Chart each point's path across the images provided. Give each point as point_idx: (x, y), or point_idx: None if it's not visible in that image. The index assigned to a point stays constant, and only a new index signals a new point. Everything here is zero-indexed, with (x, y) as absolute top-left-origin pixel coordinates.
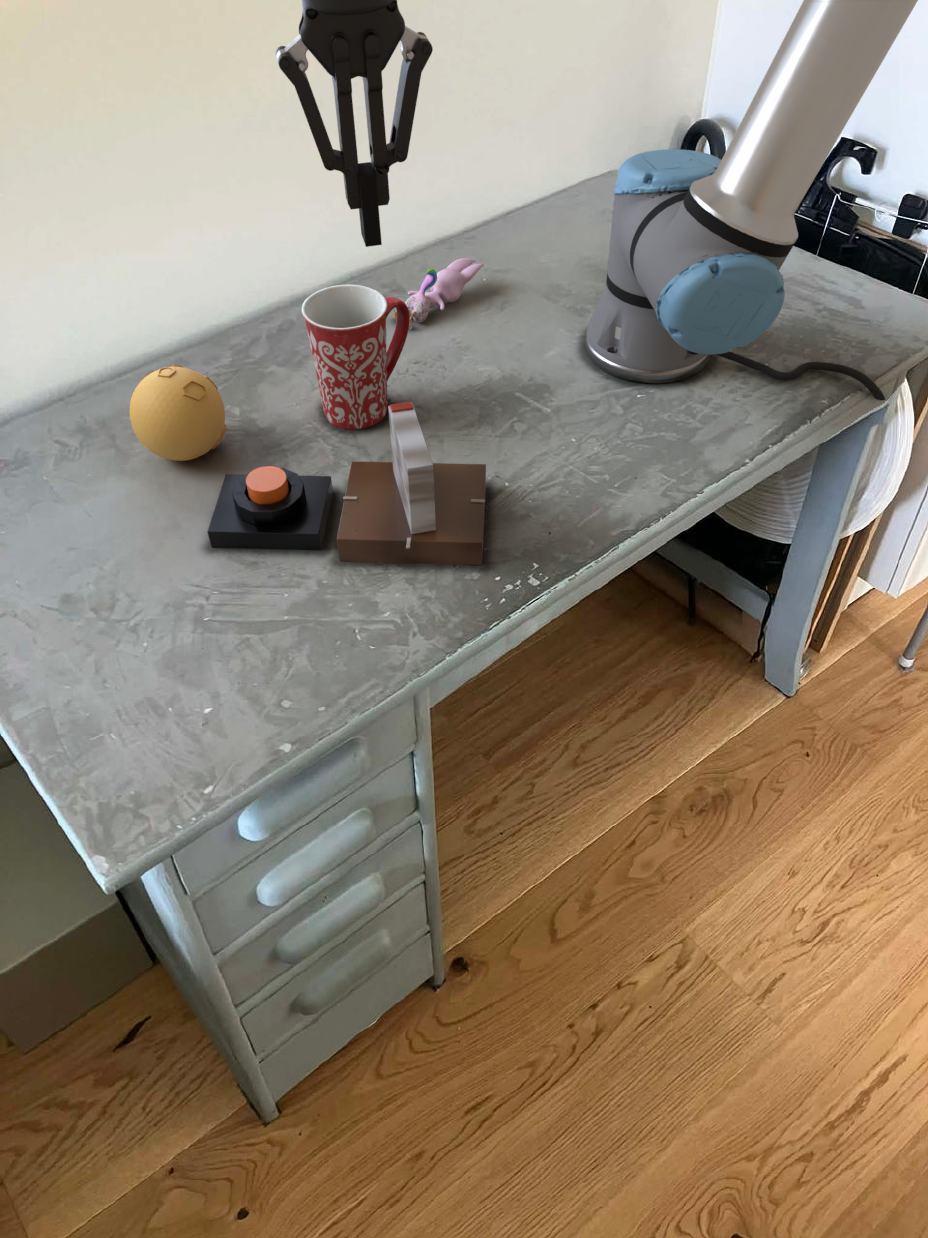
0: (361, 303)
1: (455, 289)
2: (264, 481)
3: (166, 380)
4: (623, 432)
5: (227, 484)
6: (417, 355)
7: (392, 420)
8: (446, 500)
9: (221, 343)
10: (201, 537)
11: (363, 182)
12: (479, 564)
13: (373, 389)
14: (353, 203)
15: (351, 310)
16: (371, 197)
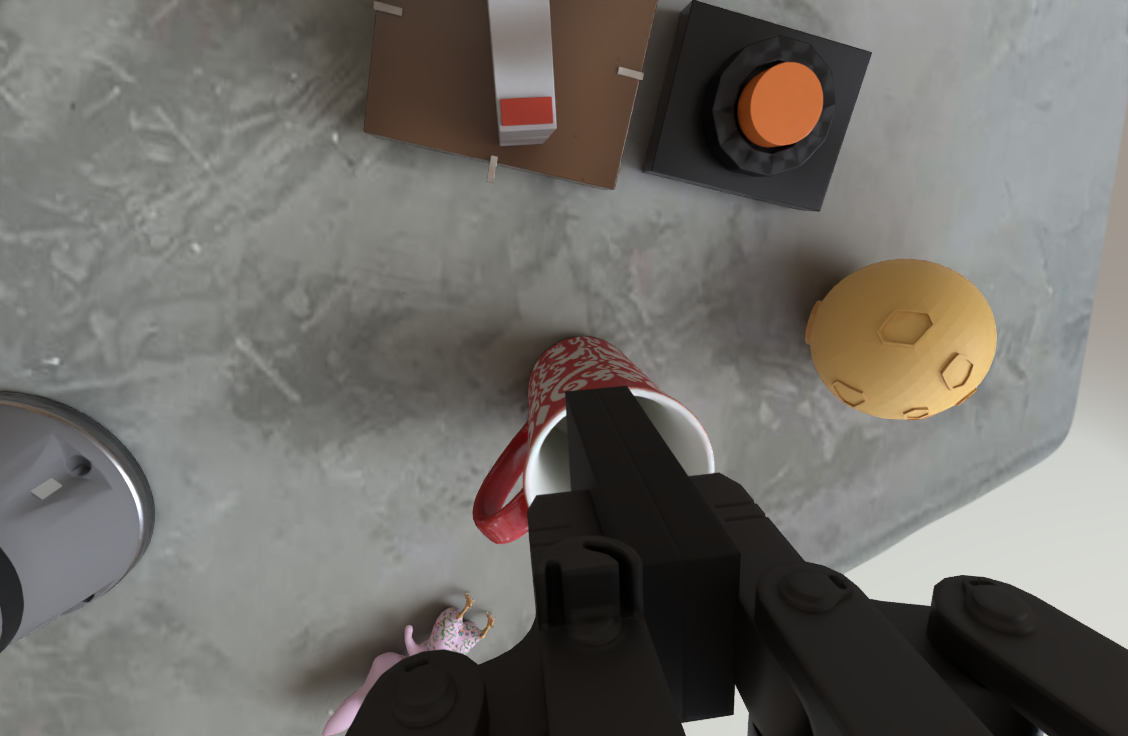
0: None
1: (380, 670)
2: (791, 95)
3: (961, 346)
4: (92, 254)
5: (821, 181)
6: (463, 523)
7: (552, 65)
8: (451, 27)
9: None
10: (860, 94)
11: (700, 527)
12: None
13: (558, 362)
14: (714, 486)
15: None
16: (632, 484)
